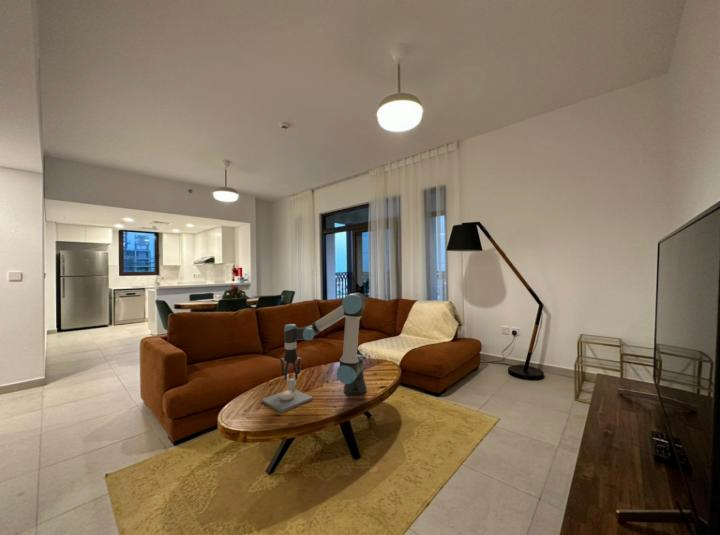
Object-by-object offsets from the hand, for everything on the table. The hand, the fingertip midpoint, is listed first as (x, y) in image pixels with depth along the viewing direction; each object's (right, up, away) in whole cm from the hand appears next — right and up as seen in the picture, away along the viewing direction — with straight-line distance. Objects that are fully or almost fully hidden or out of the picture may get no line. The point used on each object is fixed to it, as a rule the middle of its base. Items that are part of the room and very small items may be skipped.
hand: (291, 384), depth 185 cm
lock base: (0, -5, -11) cm, 12 cm away
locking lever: (0, -4, -7) cm, 7 cm away
